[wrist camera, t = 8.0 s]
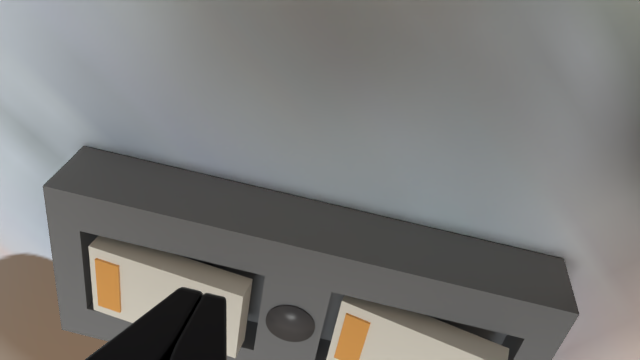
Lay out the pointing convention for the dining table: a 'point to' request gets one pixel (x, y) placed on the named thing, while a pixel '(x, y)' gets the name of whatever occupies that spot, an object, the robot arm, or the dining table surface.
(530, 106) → the dining table surface
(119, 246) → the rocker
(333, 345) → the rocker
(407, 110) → the dining table surface
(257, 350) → the rocker switch box
